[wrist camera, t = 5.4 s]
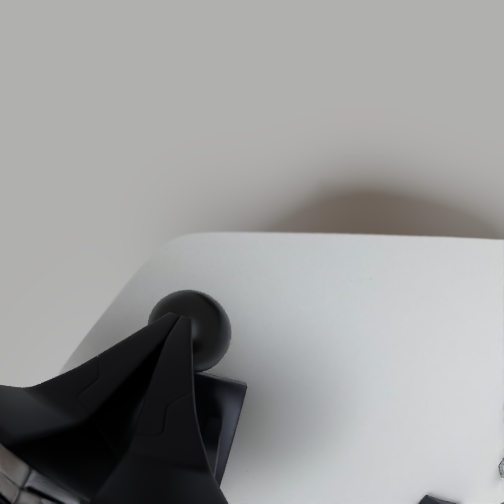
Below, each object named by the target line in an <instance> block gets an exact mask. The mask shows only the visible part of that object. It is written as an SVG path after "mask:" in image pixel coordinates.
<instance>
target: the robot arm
mask: <svg viewBox="0 0 504 504" xmlns="http://www.w3.org/2000/svg"><path fill="white" fill-rule="evenodd" d="M82 498H83V499H85V500H87V501H89V502H90V504H228V502H227V500H226V498H225V497H224V495H223V493H222V491H221V489H220V487H219V485H218V484H217V482H216V480H215V477H214V475H213V473H212V470H211V468H210V465H209V462H208V458H207V455H206V451H205V448H204V444H203V441H202V437H201V433H200V429H199V425H198V420H197V415H196V407H195V394H194V377H193V350H192V319H191V318H188V317H184V316H180V315H178V314H174V313H171V312H169V313H167V314H165V315H164V316H162V317H161V318H159V319H157V320H156V321H154V322H152V323H151V324H149V325H147V326H146V327H144V328H142V329H141V330H139V331H137V332H136V333H134V334H132V335H131V336H129V337H128V338H126V339H124V340H123V341H121V342H119V343H118V344H116V345H114V346H113V347H111V348H109V349H108V350H106V351H104V352H103V353H101V354H99V355H98V356H96V357H94V358H92V359H91V360H89V361H87V362H86V363H84V364H82V365H80V366H78V367H76V368H74V369H72V370H70V371H68V372H66V373H64V374H61V375H59V376H57V377H55V378H52V379H50V380H48V381H45V382H43V383H41V384H38V385H36V386H32V387H25V388H21V387H11V386H4V385H0V504H80V501H81V499H82ZM501 504H504V502H503V503H501Z"/></svg>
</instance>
